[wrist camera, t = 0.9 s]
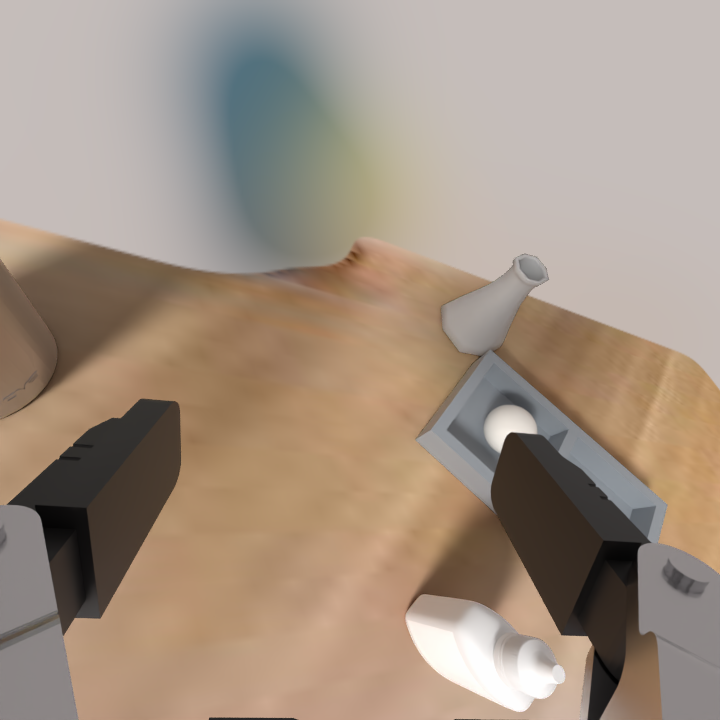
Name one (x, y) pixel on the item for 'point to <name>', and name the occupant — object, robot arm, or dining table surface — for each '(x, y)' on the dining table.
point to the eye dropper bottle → (482, 651)
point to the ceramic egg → (507, 424)
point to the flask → (491, 307)
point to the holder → (506, 387)
